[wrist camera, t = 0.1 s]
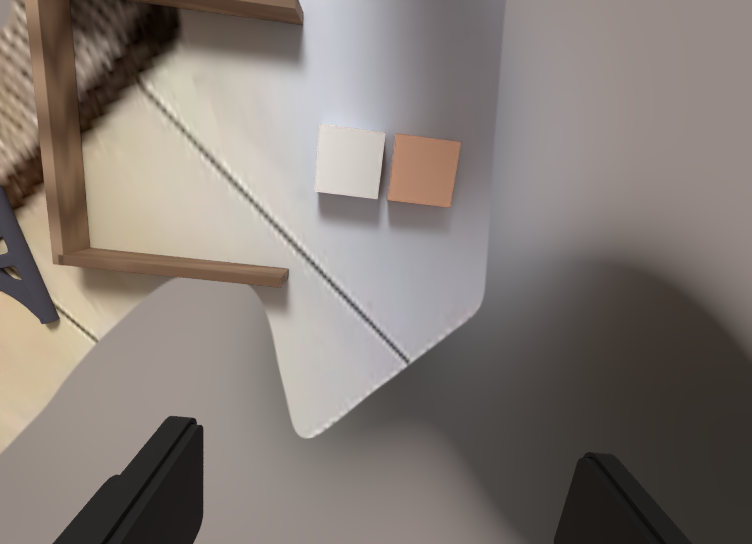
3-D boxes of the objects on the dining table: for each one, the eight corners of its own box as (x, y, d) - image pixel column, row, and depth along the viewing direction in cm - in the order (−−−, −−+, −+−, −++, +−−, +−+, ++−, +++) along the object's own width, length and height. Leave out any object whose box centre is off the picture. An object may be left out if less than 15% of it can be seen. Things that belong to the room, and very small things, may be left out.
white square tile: (323, 127, 36) (319, 123, 34) (384, 135, 37) (385, 132, 34) (318, 190, 38) (314, 191, 35) (376, 197, 38) (377, 199, 35)
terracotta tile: (394, 136, 37) (396, 133, 34) (454, 144, 37) (461, 142, 34) (386, 198, 38) (388, 200, 35) (443, 205, 39) (450, 207, 36)
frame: (55, -23, 33) (19, -45, 29) (303, 12, 34) (296, -6, 30) (80, 256, 39) (53, 264, 35) (287, 277, 40) (280, 287, 37)
